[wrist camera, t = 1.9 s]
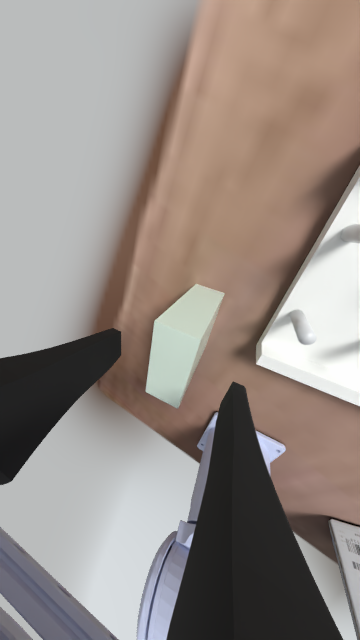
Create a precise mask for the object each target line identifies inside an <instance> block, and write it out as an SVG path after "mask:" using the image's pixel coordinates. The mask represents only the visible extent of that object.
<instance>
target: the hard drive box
mask: <svg viewBox="0 0 360 640" xmlns="http://www.w3.org/2000/svg"><path fill="white" fill-rule="evenodd" d="M328 522H329V528H330V533H331V537H332V542H333V546H334V550H335V553H336V557H337V561H338V565H339V568H340V573H341V576H342V580H343V584H344V588H345V592H346V596H347V600H348V604H349V608H350V612H351V616H352V620H353V624H354V628H355V632H356V636H357V640H360V527H357V526H353V525H350V524H347V523H343V522H340V521H337V520H334V519H331V520H329V521H328Z"/></svg>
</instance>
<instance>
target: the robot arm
mask: <svg viewBox="0 0 360 640" xmlns="http://www.w3.org/2000/svg"><path fill="white" fill-rule="evenodd" d="M120 356H121V331H118V330H116V329H114V328H112V329H108V330H105V331H102V332H99V333H96V334H94V335H91V336H88V337H85V338H81V339H78V340H75V341H72V342H69V343H65V344H62V345H59V346H55V347H52V348H48V349H44V350H40V351H36V352H31V353H27V354H22V355H17V356H11V357H5V358H0V485H3V484H6V483H9V482H11V481H12V480H13V478H14V477H15V476H16V474H17V473H18V472H19V470H20V469H21V468H22V466H23V465H24V464H25V462H26V461H27V460H28V458H29V457H30V456H31V454H32V453H33V452H34V451H35V449H36V448H37V447H38V445H39V444H40V443H41V442H42V440H43V439H44V438H45V437H46V435H47V434H48V433H49V432H50V431H51V429H52V428H53V427H54V426H55V425H56V423H57V422H58V421H59V420H60V419H61V417H62V416H63V415H64V414H65V413H66V412H67V410H69V408H70V407H71V406H72V405H73V404H74V403H75V402H76V401H77V400H78V398H80V396H82V394H84V393H85V392H86V391H87V390H88V389H89V388H90V387H91V386H92V385H93V384H94V383H95V382H96V381H97V380H98V379H99V378H100V377H102V376H103V375H104V374H105V373H106V372H107V371H108V370H109V369H110V368H111V367H112V365H113V364H114V363H115V362H116V361H117V359H118V358H119V357H120ZM197 447H198V448H199V449H200V450H202V451H203V454H202V458H201V462H200V466H199V471H198V475H197V479H196V483H195V487H194V491H193V495H192V499H191V508H190V512H189V516H188V521H187V523H186V522H184V521H182V520H181V521H180V524H179V527H178V531H174V532H172V533H171V534H170V535H169V536H168V537H167V538H166V540H165V541H164V542H163V543H162V545H161V546H160V548H159V549H158V551H157V553H156V555H155V558H154V560H153V562H152V565H151V567H150V570H149V573H148V576H147V580H146V583H145V587H144V590H143V594H142V599H141V604H140V609H139V615H138V624H137V640H343V638H342V636H341V634H340V632H339V630H338V628H337V626H336V624H335V622H334V620H333V618H332V616H331V614H330V612H329V610H328V607H327V606H326V603H325V601H324V599H323V597H322V595H321V593H320V591H319V589H318V586H317V585H316V583H315V580H314V578H313V576H312V574H311V572H310V570H309V567H308V565H307V563H306V561H305V558H304V556H303V554H302V551H301V549H300V547H299V545H298V543H297V541H296V538H295V536H294V534H293V531H292V529H291V527H290V525H289V522H288V520H287V517H286V515H285V513H284V510H283V508H282V505H281V503H280V500H279V498H278V495H277V493H276V490H275V488H274V485H273V482H272V480H271V477H270V463H271V462H272V461H273V460H274V459H276V458H277V457H278V456H280V455H281V454H282V453H283V452H285V446H284V445H283V444H282V443H280V442H278V441H276V440H274V439H272V438H270V437H268V436H266V435H264V434H262V433H260V432H258V431H256V430H255V427H254V424H253V420H252V416H251V412H250V408H249V403H248V398H247V393H246V388H245V387H244V386H242V385H240V384H238V383H235V382H233V383H232V384H231V386H230V388H229V390H228V391H227V393H226V395H225V397H224V398H223V400H222V402H221V404H220V408H219V412H216V413H215V414H214V416H213V418H212V419H211V421H210V423H209V425H208V427H207V428H206V430H205V432H204V434H203V435H202V437H201V439H200V441H199V442H198V445H197ZM0 593H1V594H2V595H3V597H5V599H6V600H7V601H8V602H9V603H10V604H11V605H12V606H13V607H14V608H15V610H16V611H17V612H18V613H19V614H20V615H21V616H22V617H23V618H24V619H25V620H26V622H28V624H29V625H30V626H31V627H32V628H33V629H34V630H35V631H36V632H37V634H38V635H39V636H40V637H41V638H42V639H43V640H118V639H117V638H116V637H115V636H114V635H113V634H112V633H111V632H110V631H109V630H108V629H107V628H106V627H105V626H104V625H103V624H101V623H100V622H99V621H98V620H97V619H96V618H95V617H94V616H93V615H92V614H91V613H90V612H89V611H88V610H87V609H86V608H85V607H84V606H82V605H81V604H80V603H79V602H78V601H77V600H76V599H75V598H74V597H73V596H72V595H71V594H70V593H69V592H68V591H67V590H66V589H65V588H64V587H63V586H62V585H61V584H60V583H58V582H57V581H56V580H55V579H54V578H53V577H52V576H51V575H50V574H49V573H48V572H47V571H46V570H45V569H44V568H43V567H42V566H41V565H40V564H38V562H36V561H35V560H34V559H33V558H32V557H31V556H30V555H29V554H28V553H27V552H26V551H25V550H24V549H23V548H22V547H20V545H19V544H18V543H17V542H15V541H14V540H13V539H12V538H11V537H10V536H9V535H8V534H7V533H6V532H5V531H4V530H3V529H2V528H1V527H0ZM0 640H33V639H32V638H31V637H30V636H29V635H28V634H27V633H26V632H25V631H24V630H23V628H21V626H20V625H19V624H18V623H17V622H16V621H15V620H14V619H13V618H12V617H11V616H10V615H8V614H7V613H6V612H5V611H4V610H3V609H2V608H1V607H0Z"/></svg>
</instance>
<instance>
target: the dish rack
mask: <svg viewBox="0 0 360 640" xmlns="http://www.w3.org/2000/svg"><path fill="white" fill-rule="evenodd" d="M256 364H257V365H260V366H262V367H265V368H267V369H269V370H272V371H274V372H277V373H279V374H282V375H284V376H287V377H289V378H291V379H294V380H296V381H299V382H301V383H304V384H306V385H309V386H311V387H314V388H316V389H318V390H321V391H323V392H326V393H328V394H331V395H333V396H336V397H338V398H340V399H343V400H345V401H348V402H350V403H353V404H355V405H358V406H360V166H359V167H358V169H357V171H356V172H355V174H354V176H353V178H352V179H351V181H350V183H349V185H348V186H347V188H346V190H345V192H344V193H343V195H342V197H341V199H340V200H339V202H338V204H337V205H336V207H335V209H334V211H333V212H332V214H331V216H330V218H329V219H328V221H327V223H326V225H325V226H324V228H323V230H322V232H321V233H320V235H319V237H318V238H317V240H316V242H315V244H314V245H313V247H312V249H311V251H310V252H309V254H308V256H307V258H306V259H305V261H304V263H303V265H302V266H301V268H300V270H299V271H298V273H297V275H296V277H295V278H294V280H293V282H292V284H291V285H290V287H289V289H288V291H287V292H286V294H285V296H284V298H283V299H282V301H281V303H280V304H279V306H278V308H277V310H276V311H275V313H274V315H273V317H272V318H271V320H270V322H269V324H268V325H267V327H266V329H265V331H264V332H263V334H262V336H261V337H260V339H259V341H258V343H257V344H256Z"/></svg>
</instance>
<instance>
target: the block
mask: <svg viewBox="0 0 360 640" xmlns="http://www.w3.org/2000/svg"><path fill="white" fill-rule="evenodd" d="M224 294H225V293H222V292H219V291H216V290H213V289H210V288H207V287H204V286H201V285H198V284H195V285H194V286H193V287H192V288H191V289H190V290H189V291H188V292H186V293H185V294H184V295H183V296H182V297H181V298H180V299H179V300H177V301H176V302H175V303H174V304H173V305H172V306H171V307H170V308H168V309H167V310H166V311H165V312H164V313H163V314H162V315H161V316H160V317H158V318H157V319H156V320H155V321H154V329H153V337H152V345H151V353H150V361H149V368H148V376H147V384H146V392H147V393H149V394H151V395H153V396H155V397H156V398H158V399H160V400H162V401H164V402H166V403H168V404H170V405H172V406H174V407H176V408H177V409H178V408H179V406H180V403H181V401H182V399H183V396H184V394H185V392H186V390H187V387H188V385H189V383H190V381H191V378H192V376H193V374H194V372H195V369H196V367H197V365H198V363H199V360H200V358H201V356H202V354H203V351H204V349H205V347H206V344H207V341H208V338H209V336H210V333H211V330H212V327H213V324H214V322H215V319H216V316H217V313H218V311H219V308H220V305H221V302H222V300H223V297H224Z"/></svg>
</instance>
